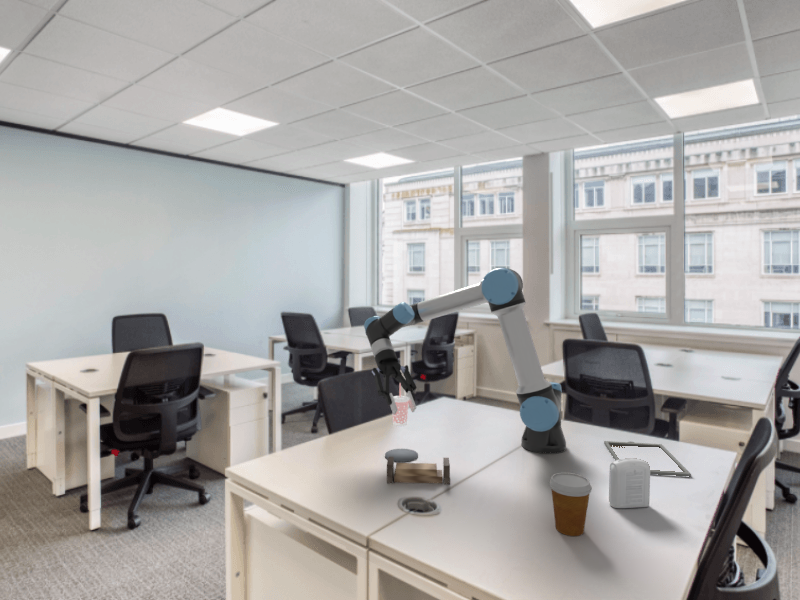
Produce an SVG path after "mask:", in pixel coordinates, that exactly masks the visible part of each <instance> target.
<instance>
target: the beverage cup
mask: <svg viewBox="0 0 800 600" xmlns="http://www.w3.org/2000/svg"><path fill="white" fill-rule="evenodd" d="M398 383H399V382H398ZM398 388H399V390H398V391H399V392H398V393H399V394H398V395H393V398H394V400H395V403H396V406H397V409H398V411H397V412H396V414H395V415H393V413H392V414H391V415H392V425H393V426H395V427H406V426H407V425H408V415H409V414H408V413H409V403H408V401H409V397H407V396H406V395H402V386H401V383H399V386H398Z"/></svg>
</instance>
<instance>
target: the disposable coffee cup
mask: <svg viewBox="0 0 800 600" xmlns="http://www.w3.org/2000/svg"><path fill="white" fill-rule="evenodd" d="M548 483H549V486H550V490H551V497H552V507H553V516H554V524H555V525H554V526H555V529H556V531H558V532H559V533H561V534H562V535H566V536H568V537H569V536H570V537H579V536H582V535H583V534H584V533H585V525H586V519H587V512H588V506H589V499H590V493H591V491H592V489H593V486H592V485H591V482H590V480H589V479H588V478H587V477H586V476H584V475H582V474H578V473H574V472H556V473H554V474H552V475H551V476H550V480H549V482H548Z"/></svg>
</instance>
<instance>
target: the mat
mask: <svg viewBox="0 0 800 600" xmlns="http://www.w3.org/2000/svg"><path fill="white" fill-rule="evenodd" d="M384 457H385V459H386V458H387V460H388V457H394V463H395V462H396V463H410V462H412V461H414V460H415V461H416V459H418V458H419V454H418V452H417V451H415V450H413V449H409V448H393V449H389V450H387V451H386V452H385V453H384Z"/></svg>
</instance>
